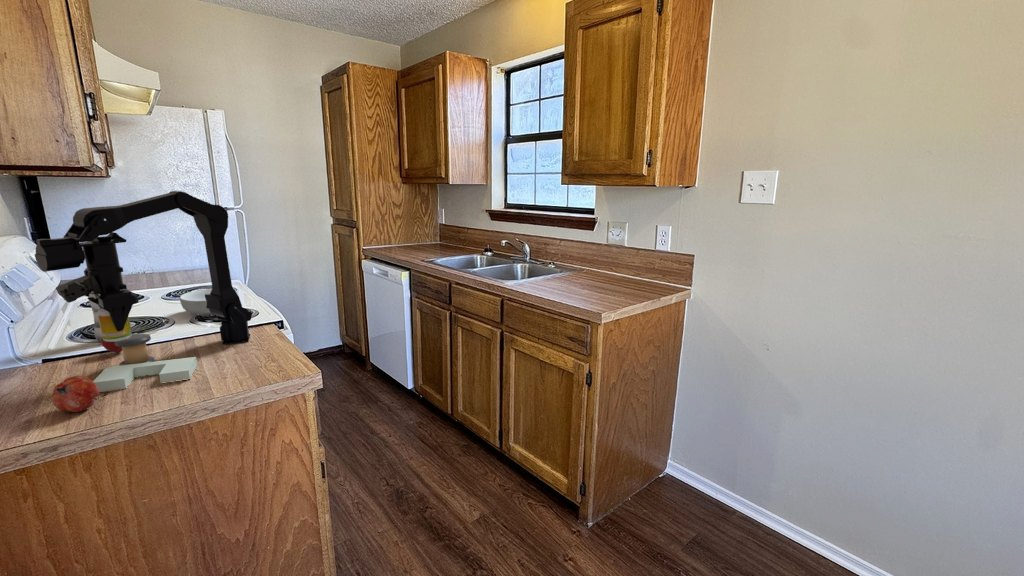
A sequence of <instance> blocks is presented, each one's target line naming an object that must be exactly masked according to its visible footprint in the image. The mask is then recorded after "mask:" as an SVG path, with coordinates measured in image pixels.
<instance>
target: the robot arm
mask: <svg viewBox="0 0 1024 576" xmlns="http://www.w3.org/2000/svg"><path fill="white" fill-rule="evenodd" d="M177 209H179V210H180V211H181V212H183V213H184V214H186V215H189V216H190V217H192V218H193V221H194V223H195V226H196V228H197V230H198V231H199V233H201V236H202V238H203V239H204V247H205V252H206V257H207V258H206V259H207V263H208V270H209V275H210V276H209V277H210V281H211V288H212V290H211V293H210V294H205V299H206V302H207V306H206V308H208V309H209V310H210V312H211V313H212V314H214V315H216V316H215V317H216V319H217V320H219V321H221V322H220V323H221V325H220V326H219V333H220V339H221V340H220V341H221V342H222V345H230V344H238V343H239V344H240V343H241V344H242V343H248V342H249V340H250V337H251V333H250V329H249V323H248V322H250V321H251V320H252V316H253V315H252V314H253V313H252V312H250V311H249V310H247V309H246V308H244V307H243V305H242V302H241V299H240V296H239V294H237V293H236V291H237V290H236V289H234V287H233V284H232V277H231V271H230V263H229V258H228V251H227V245H226V238H225V236H226V233H227V230H228V228H229V213H228V210H227V209H226V208H225V207H223V206H222V205H221V204H213V203H212V204H211V203H210V202H208V201H205V200H202V199H200V198H198V197H195V196H194V195H191V194H189V193H188V192H186V191H181V190H180V191H179V190H172V191H169V192H167V193H164V194H160V195H156V196H151V197H148V198H144V199H141V200H136V201H132V202H129V203H125V204H120V205H110V206H109V205H108V206H95V207H93V206H92V207H85V208H80V209H78V210H76V211H75V213H74V215H73V217H72V222H73V223H72V224H71V226H70V227H69V228H68V229H67V231H66V233H65V234H64V235H63V237H59V238H40V239H39V238H37V239H36V240H35V243H36V245H35V246H36V247H35V253H34V259H35V261H36V264H37V265H38V267H39V269H40V270H41V271H42V272H43V273H44V272H52V271H60V270H67V269H76V268H79V267H81V265H82V264H84V262H85V265H86V268H85V269H84V270H83V274H84V275H83V276H80V277H77V278H74V279H72V280H70V281H68V282H64V283H63V284H61V285H58V286H56V287H55V290H56V291H57V293H59V295H60V297H62V299H63V300H64V301H66V302H67V303H73V302H75V301H77V299H80V298H81V297H84V296H85V297H87V296H89V294H91V295H92V297H90V298H88V297H87V300H88V301H89V300H90V301H92V302H94V303H96V304H98V305H99V304H100V305H99V307H100V309H101V308H102V309H104V310H106V311H108V313H109V315H110V317H111V319H112V322H113V324H114V326H115V328H116V330H117V331H122V330H123V329H124V326H125V323H126V321H127V318H128V317H129V314H130V313H131V310H132V308H133V305H135V304H139V297H138V294H137V293H135V292H133V291H131V290H130V289H128V288H127V284H126V283H124V280H123V279H124V278H123V275H122V273H123V272H124V268H123V267H122V266H120V259H119V255H118V251H117V246H116V244H122V243H127V239H126V238H124V237H122V236H120V235H119V234H118V233H117V232H116V231H118V230H120V229H123V227H125V226H126V225H128V224H129V223H132V222H134V221H138V220H141V219H144V218H147V217H152V216H156V215H159V214H162V213H166V212H169V211H172V210H177ZM235 290H236V291H235Z"/></svg>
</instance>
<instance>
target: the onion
mask: <svg viewBox="0 0 1024 576" xmlns="http://www.w3.org/2000/svg"><path fill="white" fill-rule="evenodd" d="M100 343H101V345H102V347H103V348H104V349H105V350H107V351H109V352H112V353H116V354H120V353H123V351H122V347H120V346H116V345H115V341H114V342H108V341H104V340H103V338H102V339H101V342H100Z"/></svg>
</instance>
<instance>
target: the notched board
mask: <svg viewBox="0 0 1024 576" xmlns="http://www.w3.org/2000/svg"><path fill="white" fill-rule="evenodd" d="M197 361H198V360H197V357H196V356H191V357H184V358H183V357H182V358H175V359H165V360H158V361H155V362H147V363H139V364H130V365H122V366H120V365H117V366H115V365H113V366H107V367H105V368H104V370H103V371H101V373H100V374H99V375H98V376H96V378H94V380H92V381H93V382H94V383H95V384H96V386H97V387H98V390H99V393H105V392H111V391H118V390H119V389H120V390H125V388H126V389H128V387H129V386H128V385H130V384H131V383H132V382H133V381H134V379H135V378H138V377H137V376H141V377H146V376H145V375H149V376H153V375H152V374H157V375H159V381H160V384H161V383H163V382H170V381H176V380H183V379H190V377H191V376H192V377H193V375H194V374H193V372H194V370H195V369H197V368H198V362H197ZM196 367H197V368H196ZM195 371H196V370H195ZM194 373H195V372H194ZM192 374H193V375H192ZM134 377H135V378H134ZM192 377H191V378H192ZM132 380H133V381H132ZM190 380H191V379H190ZM131 381H132V382H131ZM127 386H128V387H127Z"/></svg>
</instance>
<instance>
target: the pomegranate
mask: <svg viewBox="0 0 1024 576" xmlns="http://www.w3.org/2000/svg"><path fill="white" fill-rule="evenodd" d="M93 381H94V380H92V379H90V378H89V377H87V376H84V375H73V376H70V377H67V378H65V379H64V380H63V381H62V382H60V383H58V384H56V385H55V386H54V389H53V392H52V393H53V394H52V395H51V402H52V404H53V406H54V407H55V408H56V409H58V410H59V411H62V412H72V413H80V412H83V410H84V411H87V410H88V409H89V408H91V407H92V406H93V405H94V403H95V402H94V400H95V401H98V400H97V399H98V398H97V397H98V396H99V394H100V392H99V390H98V387H97V386H96V384H95V383H94V382H93ZM87 408H88V409H87ZM86 409H87V410H86ZM79 411H80V412H79Z"/></svg>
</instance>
